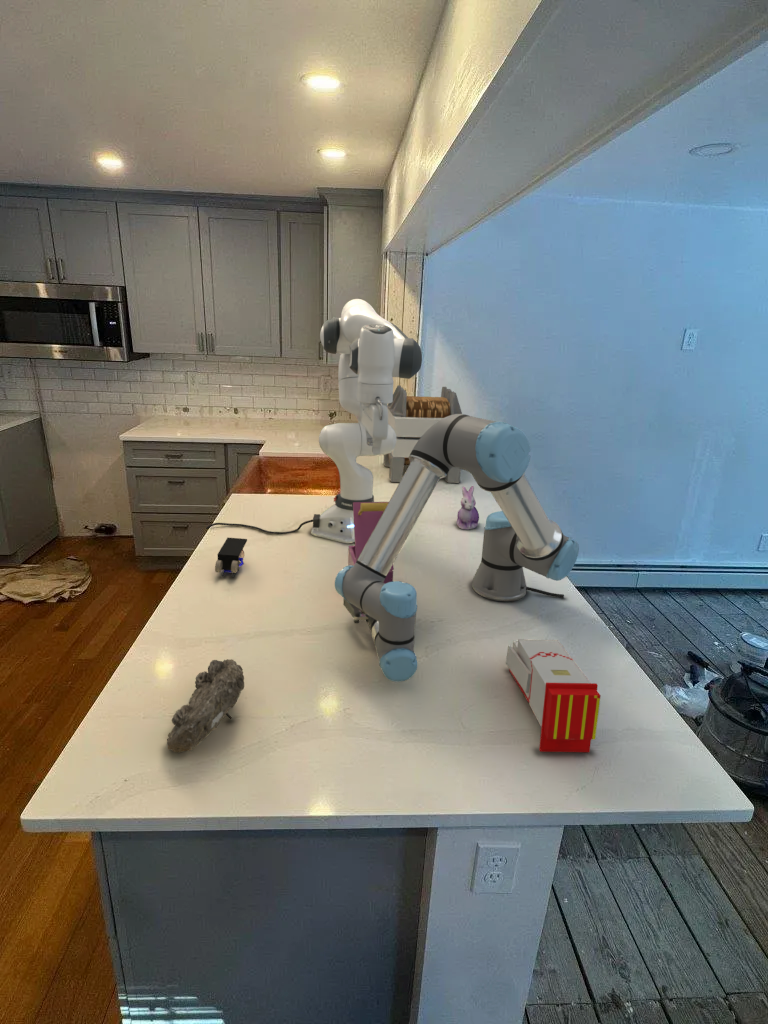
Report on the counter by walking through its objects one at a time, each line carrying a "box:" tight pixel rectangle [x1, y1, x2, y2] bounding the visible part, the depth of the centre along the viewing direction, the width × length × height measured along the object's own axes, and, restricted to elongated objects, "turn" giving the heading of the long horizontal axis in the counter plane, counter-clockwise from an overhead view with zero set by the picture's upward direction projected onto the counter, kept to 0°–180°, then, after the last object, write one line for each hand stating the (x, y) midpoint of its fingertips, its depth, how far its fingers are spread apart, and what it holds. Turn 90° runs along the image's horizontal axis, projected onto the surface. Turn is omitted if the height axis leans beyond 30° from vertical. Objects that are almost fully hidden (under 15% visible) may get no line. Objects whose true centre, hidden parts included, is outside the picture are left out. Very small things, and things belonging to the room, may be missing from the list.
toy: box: [505, 638, 602, 753], centre depth 114 cm, size 12×13×30 cm
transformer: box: [383, 384, 463, 484], centre depth 268 cm, size 34×33×41 cm
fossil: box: [166, 658, 245, 754], centre depth 106 cm, size 22×10×15 cm
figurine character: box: [214, 537, 248, 578], centre depth 166 cm, size 7×8×15 cm
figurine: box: [456, 485, 480, 530], centre depth 208 cm, size 9×10×15 cm
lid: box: [353, 501, 395, 571], centre depth 143 cm, size 18×10×9 cm
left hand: (372, 449), depth 144 cm, fingers open, 8 cm apart
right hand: (371, 584), depth 150 cm, fingers closed on chest, 9 cm apart
